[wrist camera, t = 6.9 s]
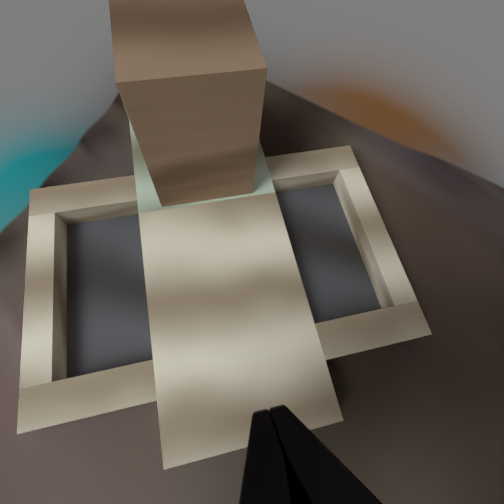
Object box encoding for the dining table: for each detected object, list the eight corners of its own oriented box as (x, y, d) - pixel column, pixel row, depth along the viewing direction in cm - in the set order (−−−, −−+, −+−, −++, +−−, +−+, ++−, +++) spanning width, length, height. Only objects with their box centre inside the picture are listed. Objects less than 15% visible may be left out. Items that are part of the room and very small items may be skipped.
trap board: (434, 390, 19) (483, 389, 15) (38, 496, 16) (-21, 529, 12) (316, 104, 28) (330, 60, 24) (48, 135, 25) (17, 90, 21)
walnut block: (252, 193, 21) (267, 68, 13) (161, 207, 20) (115, 83, 12) (234, 126, 24) (237, -17, 15) (152, 136, 23) (108, -10, 14)
